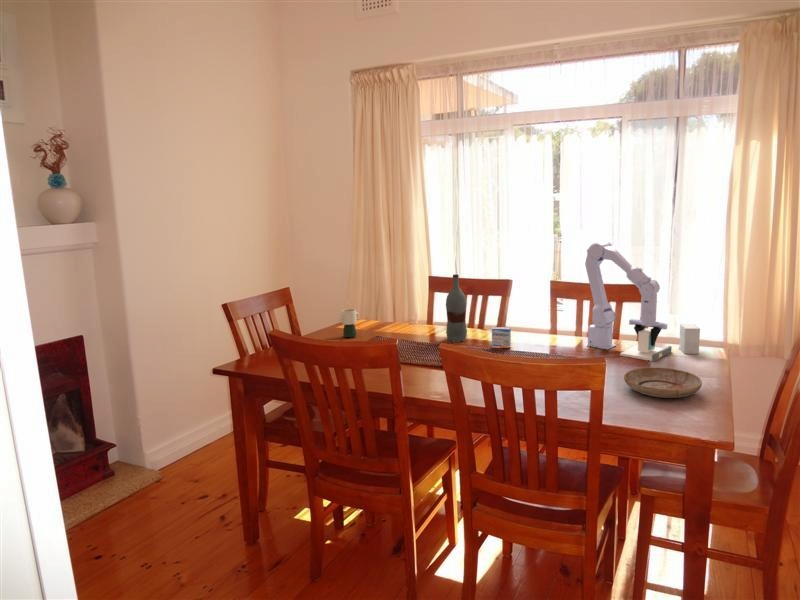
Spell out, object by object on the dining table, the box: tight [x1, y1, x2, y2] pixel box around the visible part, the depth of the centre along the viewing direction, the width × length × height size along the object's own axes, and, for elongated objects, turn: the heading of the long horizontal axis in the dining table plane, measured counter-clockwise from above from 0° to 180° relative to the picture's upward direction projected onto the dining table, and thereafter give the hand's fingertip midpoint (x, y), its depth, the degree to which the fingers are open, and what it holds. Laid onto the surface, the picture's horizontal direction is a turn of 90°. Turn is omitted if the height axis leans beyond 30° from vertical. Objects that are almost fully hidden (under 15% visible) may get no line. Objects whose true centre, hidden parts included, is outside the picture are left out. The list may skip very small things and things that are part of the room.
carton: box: [637, 327, 656, 353], centre depth 240 cm, size 4×7×8 cm, turn 135°
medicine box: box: [491, 326, 512, 346], centre depth 257 cm, size 8×4×9 cm, turn 76°
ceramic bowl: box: [623, 367, 703, 399], centre depth 198 cm, size 23×24×5 cm
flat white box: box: [620, 344, 672, 362], centre depth 241 cm, size 14×17×2 cm
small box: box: [678, 323, 701, 355], centre depth 242 cm, size 8×6×10 cm
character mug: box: [338, 308, 360, 338], centre depth 284 cm, size 11×7×13 cm, turn 127°
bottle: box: [445, 273, 468, 343], centre depth 270 cm, size 9×9×30 cm
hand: (647, 344), depth 241 cm, fingers closed on carton, 4 cm apart
